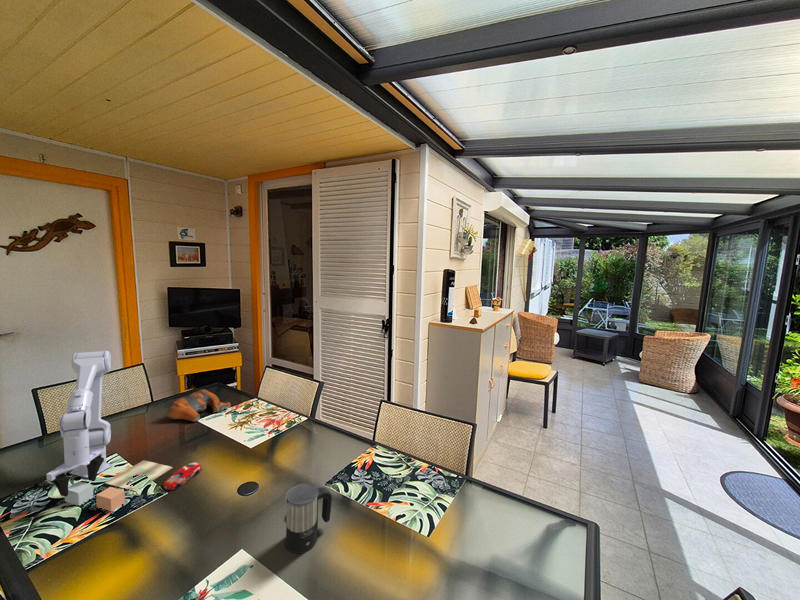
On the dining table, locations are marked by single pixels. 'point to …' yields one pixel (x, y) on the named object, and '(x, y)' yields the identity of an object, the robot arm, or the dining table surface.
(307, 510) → the milk frother
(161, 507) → the dining table surface
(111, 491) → the terracotta block
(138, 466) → the plate
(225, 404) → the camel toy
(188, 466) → the race car
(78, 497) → the light grey block
